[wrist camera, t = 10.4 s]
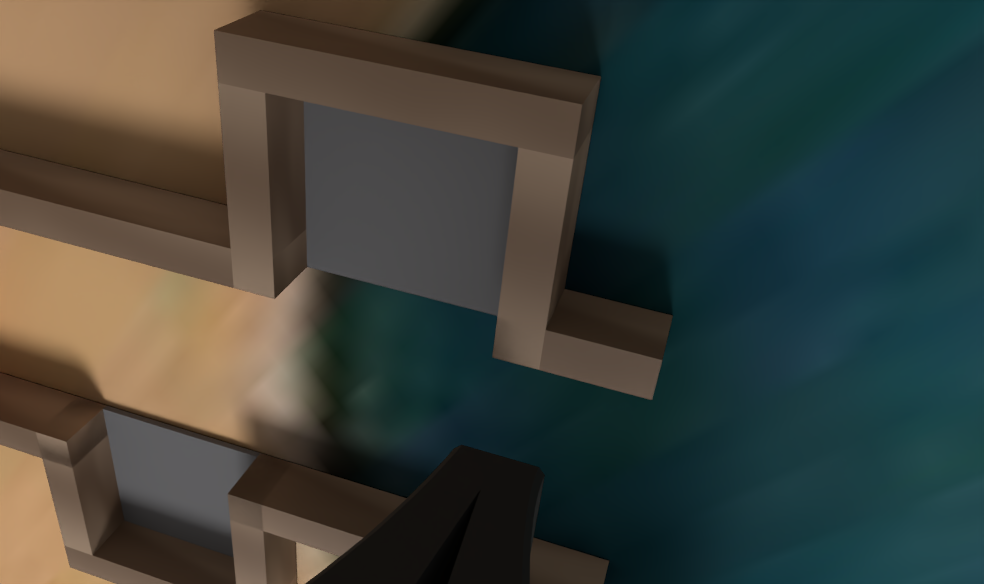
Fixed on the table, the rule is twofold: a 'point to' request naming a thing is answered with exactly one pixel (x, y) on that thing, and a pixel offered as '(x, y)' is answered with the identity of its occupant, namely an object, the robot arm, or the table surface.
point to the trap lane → (335, 249)
